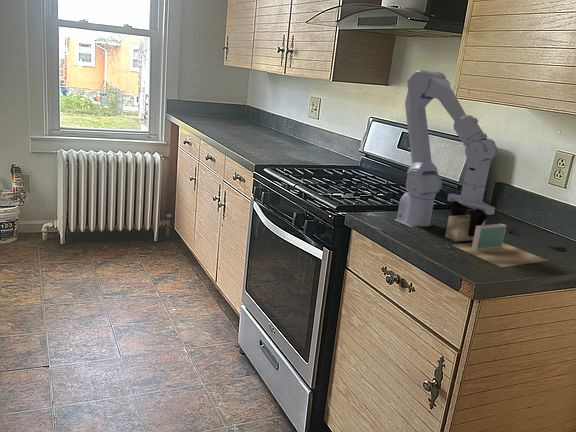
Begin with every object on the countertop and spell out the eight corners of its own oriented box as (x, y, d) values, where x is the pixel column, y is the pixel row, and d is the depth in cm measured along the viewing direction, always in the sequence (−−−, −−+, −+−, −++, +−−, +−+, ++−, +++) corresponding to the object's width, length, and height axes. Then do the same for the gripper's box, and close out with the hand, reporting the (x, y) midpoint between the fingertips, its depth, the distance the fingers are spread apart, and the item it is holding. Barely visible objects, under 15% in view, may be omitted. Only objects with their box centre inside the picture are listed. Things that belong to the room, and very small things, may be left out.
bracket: (528, 236, 166) (530, 227, 165) (565, 253, 152) (567, 243, 152) (488, 236, 161) (490, 227, 161) (523, 253, 148) (525, 243, 147)
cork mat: (450, 248, 142) (451, 244, 142) (496, 243, 151) (497, 240, 151) (501, 271, 129) (502, 267, 129) (547, 264, 138) (548, 260, 138)
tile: (471, 247, 141) (476, 225, 140) (497, 245, 146) (501, 223, 145) (476, 250, 140) (481, 227, 138) (502, 247, 145) (507, 225, 143)
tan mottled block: (444, 240, 149) (449, 216, 147) (469, 238, 154) (474, 214, 152) (455, 245, 146) (460, 220, 144) (480, 242, 151) (485, 218, 149)
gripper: (443, 178, 150) (434, 225, 153) (486, 191, 138) (475, 242, 141) (461, 178, 153) (452, 224, 157) (504, 190, 141) (493, 240, 145)
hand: (464, 233), depth 149 cm, fingers open, 5 cm apart
